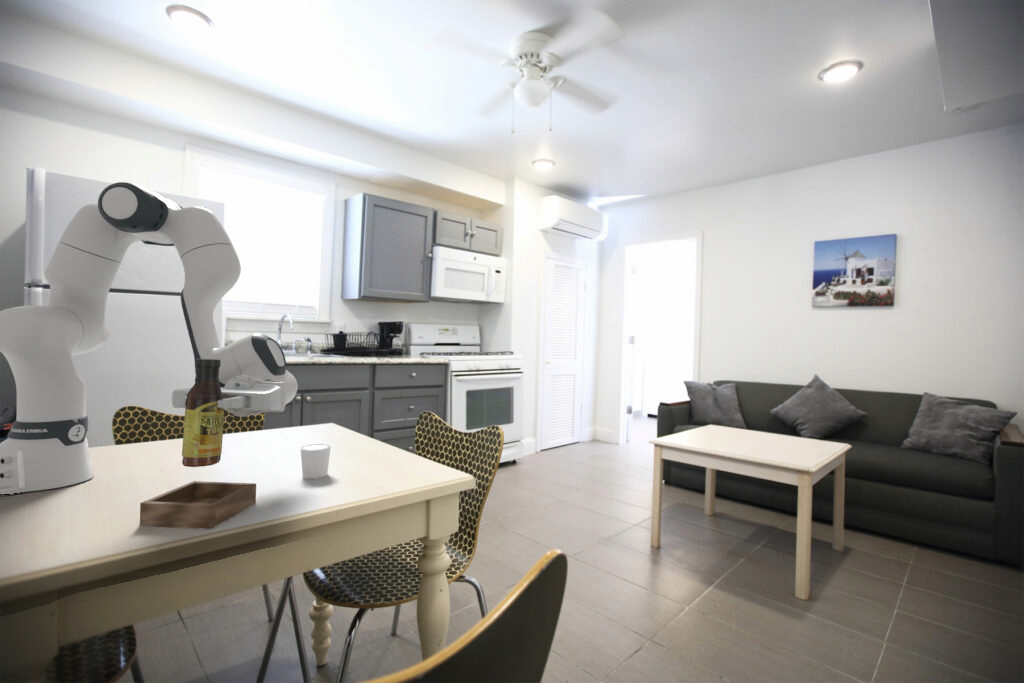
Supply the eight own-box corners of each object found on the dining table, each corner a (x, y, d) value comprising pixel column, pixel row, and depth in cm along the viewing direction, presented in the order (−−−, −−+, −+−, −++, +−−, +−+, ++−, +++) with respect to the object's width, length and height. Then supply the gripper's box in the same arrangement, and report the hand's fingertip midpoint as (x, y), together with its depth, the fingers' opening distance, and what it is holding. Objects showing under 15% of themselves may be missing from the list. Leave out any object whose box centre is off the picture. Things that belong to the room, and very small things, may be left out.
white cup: (319, 480, 111) (320, 450, 111) (293, 478, 112) (294, 448, 112) (335, 472, 118) (336, 444, 118) (310, 470, 119) (311, 442, 119)
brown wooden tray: (139, 525, 82) (140, 503, 82) (193, 500, 95) (193, 481, 95) (211, 529, 82) (212, 506, 82) (255, 503, 95) (256, 483, 95)
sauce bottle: (201, 469, 85) (205, 359, 85) (172, 467, 86) (177, 358, 86) (230, 461, 91) (234, 359, 91) (202, 459, 92) (206, 358, 93)
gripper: (200, 379, 102) (148, 385, 88) (292, 382, 101) (254, 388, 87) (199, 408, 102) (147, 418, 88) (291, 411, 101) (253, 422, 87)
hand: (201, 403), depth 88 cm, fingers closed on sauce bottle, 6 cm apart
